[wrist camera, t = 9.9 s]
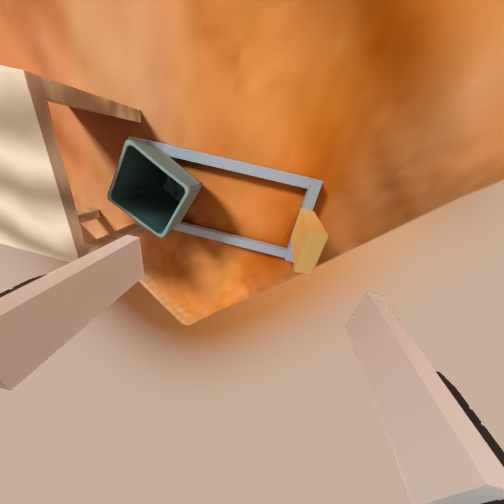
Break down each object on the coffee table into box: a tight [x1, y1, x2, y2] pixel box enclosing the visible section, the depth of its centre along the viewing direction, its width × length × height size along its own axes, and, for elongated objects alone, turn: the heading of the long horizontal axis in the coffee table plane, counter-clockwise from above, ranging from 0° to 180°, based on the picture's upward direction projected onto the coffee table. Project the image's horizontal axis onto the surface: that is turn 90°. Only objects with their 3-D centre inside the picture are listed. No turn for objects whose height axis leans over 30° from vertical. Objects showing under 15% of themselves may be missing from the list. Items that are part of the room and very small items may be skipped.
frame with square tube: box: [128, 136, 328, 275], centre depth 25 cm, size 14×28×12 cm, turn 78°
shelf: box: [0, 65, 149, 262], centre depth 25 cm, size 19×12×14 cm, turn 168°
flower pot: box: [108, 140, 202, 238], centre depth 27 cm, size 9×9×9 cm
